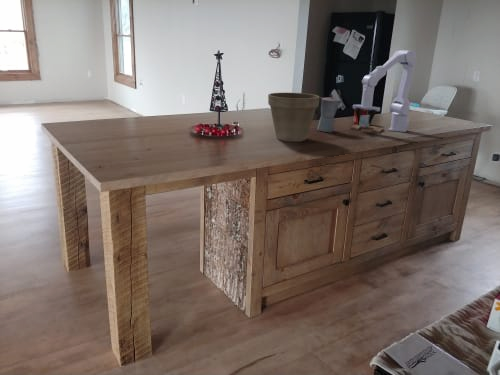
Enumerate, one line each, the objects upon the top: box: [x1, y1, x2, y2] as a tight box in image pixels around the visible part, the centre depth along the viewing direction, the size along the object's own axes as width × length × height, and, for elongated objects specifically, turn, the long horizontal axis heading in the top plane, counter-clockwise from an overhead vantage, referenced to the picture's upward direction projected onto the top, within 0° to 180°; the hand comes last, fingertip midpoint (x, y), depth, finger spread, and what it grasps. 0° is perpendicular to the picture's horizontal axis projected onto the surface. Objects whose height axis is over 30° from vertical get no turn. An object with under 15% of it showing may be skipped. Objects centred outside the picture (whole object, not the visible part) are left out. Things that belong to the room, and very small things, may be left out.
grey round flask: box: [359, 115, 370, 127], centre depth 246 cm, size 9×6×6 cm, turn 151°
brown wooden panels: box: [350, 124, 384, 134], centre depth 256 cm, size 16×11×1 cm
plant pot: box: [267, 92, 320, 143], centre depth 221 cm, size 25×25×22 cm
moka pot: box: [315, 94, 343, 133], centre depth 244 cm, size 10×15×20 cm, turn 78°
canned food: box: [353, 108, 369, 125], centre depth 272 cm, size 8×8×11 cm
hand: (364, 122), depth 248 cm, fingers closed on grey round flask, 6 cm apart
